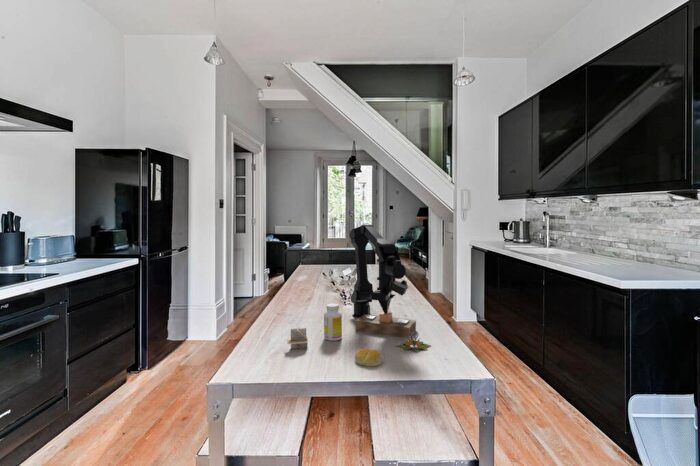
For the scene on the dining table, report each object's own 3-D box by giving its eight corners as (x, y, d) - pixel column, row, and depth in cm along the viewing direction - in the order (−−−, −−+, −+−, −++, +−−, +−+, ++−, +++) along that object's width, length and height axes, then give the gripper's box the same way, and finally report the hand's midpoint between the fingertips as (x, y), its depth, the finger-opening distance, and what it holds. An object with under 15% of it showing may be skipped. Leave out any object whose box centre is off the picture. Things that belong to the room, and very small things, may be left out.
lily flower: (437, 347, 138) (437, 334, 138) (418, 356, 130) (418, 343, 129) (410, 339, 147) (410, 327, 146) (390, 347, 138) (390, 335, 138)
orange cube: (379, 323, 154) (379, 313, 154) (382, 320, 158) (382, 311, 158) (388, 324, 153) (388, 315, 152) (392, 321, 156) (392, 312, 156)
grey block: (396, 331, 152) (396, 321, 151) (399, 328, 155) (399, 319, 155) (406, 332, 150) (406, 323, 150) (408, 329, 154) (409, 320, 153)
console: (355, 330, 156) (355, 320, 155) (365, 323, 165) (365, 314, 164) (408, 338, 146) (408, 327, 146) (415, 330, 155) (416, 320, 155)
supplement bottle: (344, 336, 149) (344, 303, 148) (338, 342, 142) (337, 307, 141) (328, 334, 151) (327, 302, 150) (321, 340, 144) (321, 306, 143)
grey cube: (363, 326, 157) (363, 317, 157) (366, 323, 161) (366, 314, 161) (372, 328, 156) (372, 318, 156) (375, 325, 159) (375, 316, 159)
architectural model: (308, 352, 134) (307, 331, 134) (287, 353, 133) (287, 332, 132) (307, 348, 138) (306, 328, 137) (287, 349, 136) (287, 329, 136)
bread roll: (362, 355, 131) (362, 343, 131) (386, 360, 126) (386, 348, 126) (349, 363, 124) (349, 351, 124) (374, 369, 119) (374, 357, 119)
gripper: (398, 280, 142) (397, 322, 143) (412, 272, 159) (411, 309, 160) (369, 278, 147) (369, 318, 148) (386, 270, 164) (386, 306, 165)
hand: (385, 313), depth 155 cm, fingers closed
